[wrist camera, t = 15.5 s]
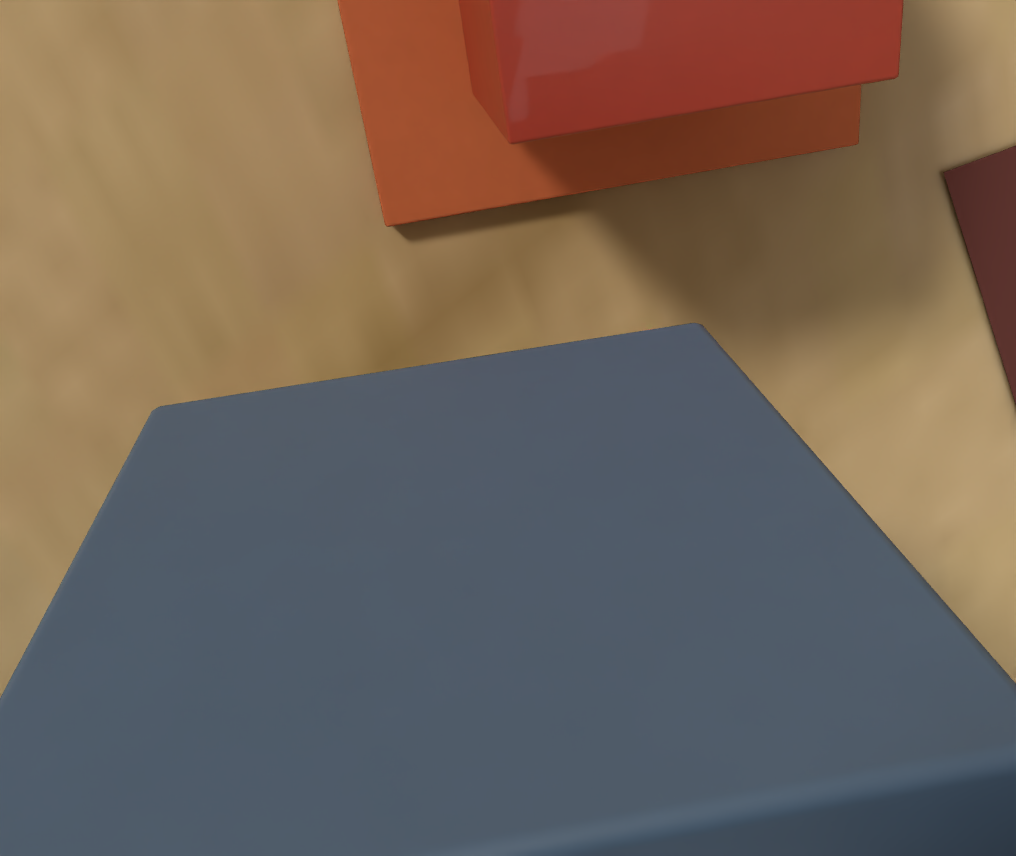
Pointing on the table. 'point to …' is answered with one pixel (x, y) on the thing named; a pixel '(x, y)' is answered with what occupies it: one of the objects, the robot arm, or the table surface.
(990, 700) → the blue block
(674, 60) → the red block
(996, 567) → the table surface
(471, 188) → the orange square mat
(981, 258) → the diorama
